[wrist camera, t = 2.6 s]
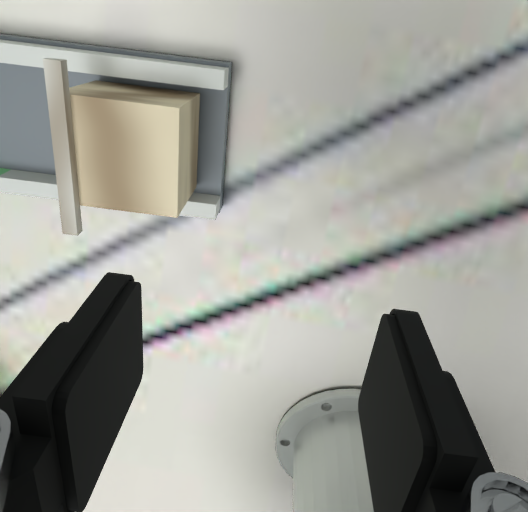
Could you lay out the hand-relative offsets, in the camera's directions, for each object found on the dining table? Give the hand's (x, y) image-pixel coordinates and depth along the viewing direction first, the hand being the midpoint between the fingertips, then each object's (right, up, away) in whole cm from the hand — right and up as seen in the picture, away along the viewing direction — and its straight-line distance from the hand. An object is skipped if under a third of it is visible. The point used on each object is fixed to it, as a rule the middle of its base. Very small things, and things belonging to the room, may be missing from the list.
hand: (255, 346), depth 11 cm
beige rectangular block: (-7, +9, +16) cm, 20 cm away
